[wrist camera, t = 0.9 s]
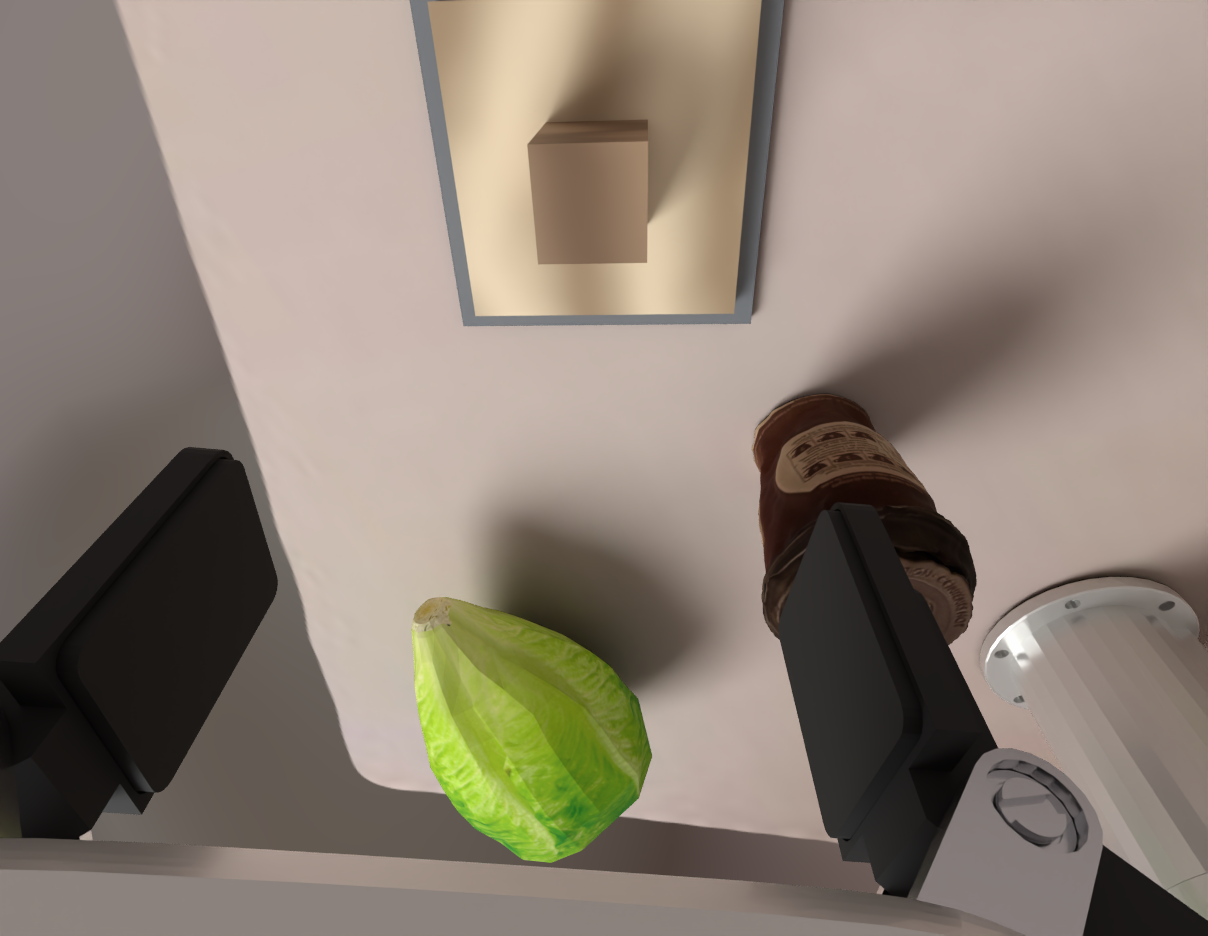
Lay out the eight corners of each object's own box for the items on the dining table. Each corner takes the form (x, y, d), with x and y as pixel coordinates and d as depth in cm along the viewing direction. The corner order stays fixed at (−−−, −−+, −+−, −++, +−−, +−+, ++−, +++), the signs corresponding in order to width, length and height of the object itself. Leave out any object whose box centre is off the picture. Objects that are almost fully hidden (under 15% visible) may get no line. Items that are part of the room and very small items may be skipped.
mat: (786, -46, 24) (789, -47, 23) (749, 318, 32) (750, 323, 31) (409, -30, 25) (404, -31, 24) (466, 321, 33) (463, 326, 32)
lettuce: (557, 509, 39) (528, 674, 30) (672, 701, 50) (678, 870, 40) (369, 568, 43) (289, 732, 33) (513, 735, 54) (483, 897, 44)
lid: (757, -12, 24) (787, -16, 19) (731, 303, 31) (748, 362, 26) (435, 1, 25) (381, 1, 20) (480, 306, 32) (449, 363, 27)
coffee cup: (739, 368, 33) (783, 536, 23) (906, 365, 33) (1030, 537, 22) (728, 501, 38) (759, 690, 28) (872, 501, 38) (960, 695, 27)
